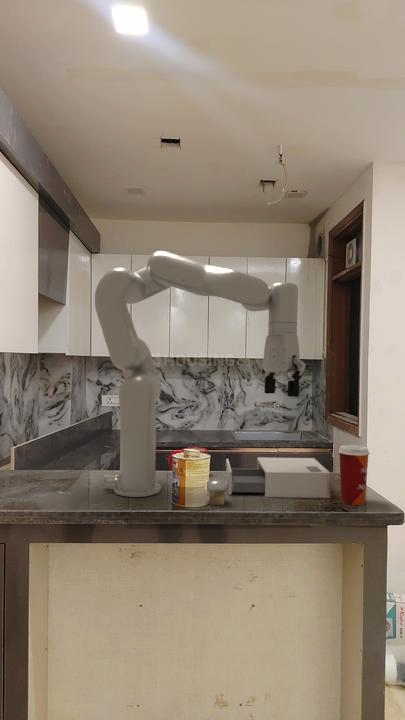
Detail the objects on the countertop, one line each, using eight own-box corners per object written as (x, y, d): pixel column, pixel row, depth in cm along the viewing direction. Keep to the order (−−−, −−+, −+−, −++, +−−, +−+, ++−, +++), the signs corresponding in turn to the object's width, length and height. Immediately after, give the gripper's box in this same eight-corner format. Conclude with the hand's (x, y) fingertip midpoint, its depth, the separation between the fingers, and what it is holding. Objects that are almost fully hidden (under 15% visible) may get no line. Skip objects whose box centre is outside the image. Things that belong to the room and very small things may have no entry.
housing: (265, 496, 123) (265, 471, 123) (257, 479, 141) (257, 456, 141) (330, 497, 123) (330, 472, 123) (313, 479, 141) (313, 457, 141)
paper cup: (371, 507, 115) (372, 450, 115) (338, 505, 117) (339, 449, 117) (366, 498, 123) (367, 445, 123) (336, 496, 125) (337, 443, 125)
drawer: (227, 494, 124) (228, 471, 124) (224, 478, 140) (224, 458, 140) (292, 495, 124) (292, 472, 124) (281, 479, 140) (282, 459, 140)
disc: (204, 491, 115) (204, 483, 115) (204, 485, 121) (204, 477, 121) (229, 492, 115) (229, 483, 115) (227, 485, 121) (227, 477, 121)
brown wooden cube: (209, 504, 116) (209, 490, 116) (209, 500, 120) (209, 486, 120) (223, 504, 116) (224, 490, 116) (223, 500, 120) (223, 486, 120)
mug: (170, 471, 149) (170, 446, 149) (207, 472, 148) (208, 447, 148) (166, 477, 141) (166, 451, 141) (205, 478, 140) (206, 452, 140)
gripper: (251, 330, 130) (250, 392, 130) (293, 328, 115) (291, 398, 115) (273, 331, 133) (272, 392, 133) (316, 329, 118) (314, 397, 118)
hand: (281, 394), depth 124 cm, fingers open, 9 cm apart
